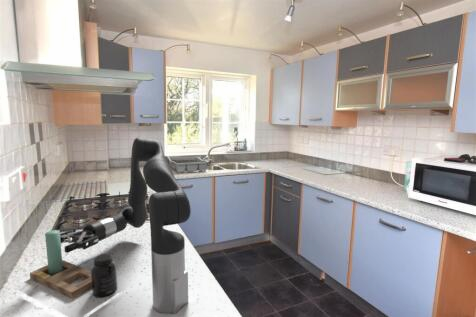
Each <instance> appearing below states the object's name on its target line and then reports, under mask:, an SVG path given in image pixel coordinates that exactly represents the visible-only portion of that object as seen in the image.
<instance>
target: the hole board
mask: <svg viewBox="0 0 476 317" xmlns="http://www.w3.org/2000/svg"><path fill="white" fill-rule="evenodd" d="M62 264H63V271H62V272H60V273H58V274H55V275H53V276H50V275H49V271H48V264H45V266H42V267H40V268H37V269H34V270H33V271H30V272H29V279H30V280H32V281H35V282H36V283H39V284H41V285H43V286H44V287H47V288H48V289H51V290H53V291H55V292H57V293H59V294H62V295H63V296H66V297H68V298H69V299H72V300H73V299H75V298H77V297H78V296H80V295H82V294H84V293H86V292H88V291H89V290H90V289H92V278H91V271H89V270H87V269H84V268H82V267H79V266H80V265H76V264H75V263H74V264H73V263H71V262H69V261H66V260H64V259H62ZM79 279H82V281H79V282H78V283H76V284H74V285H73V284H71V283H73V282H75V281H76V280H79Z"/></svg>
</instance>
